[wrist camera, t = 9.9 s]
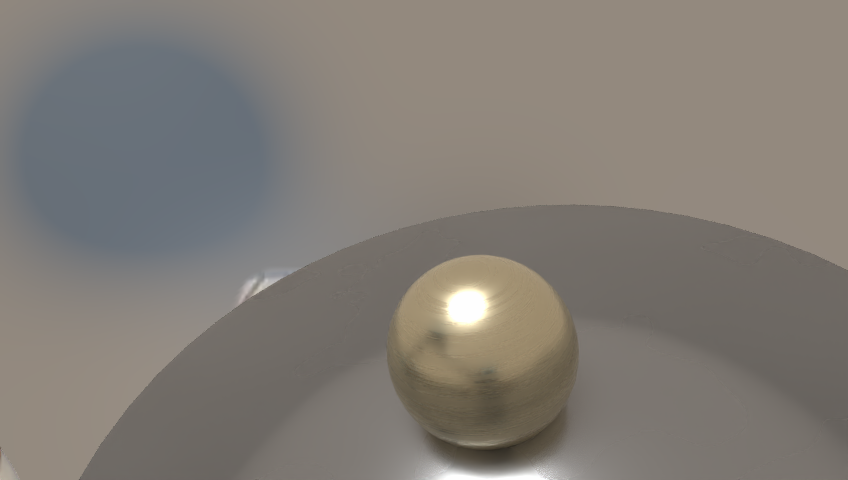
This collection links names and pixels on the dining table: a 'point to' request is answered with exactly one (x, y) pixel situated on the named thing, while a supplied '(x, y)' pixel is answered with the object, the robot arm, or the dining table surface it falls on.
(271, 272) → the dining table surface
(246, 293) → the dining table surface
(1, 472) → the lidded jar
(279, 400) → the silver lidded pot
